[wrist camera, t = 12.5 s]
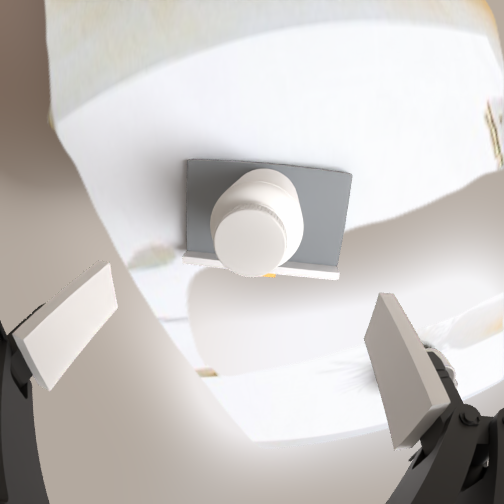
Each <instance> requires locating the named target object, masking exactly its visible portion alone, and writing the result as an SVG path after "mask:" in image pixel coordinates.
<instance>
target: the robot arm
mask: <svg viewBox="0 0 504 504" xmlns="http://www.w3.org/2000/svg"><path fill="white" fill-rule="evenodd" d="M117 308H118V305H117V301H116V296H115V290H114V285H113V279H112V273H111V266H110V262H104V261H97V262H96V263H95V264H93V265H92V266H91V267H89V268H88V269H87V270H86V271H84V272H83V273H82V274H80V275H79V276H78V277H77V278H75V279H74V280H73V281H72V282H71V283H69V284H68V285H67V286H66V287H64V288H63V289H62V290H61V291H60V292H58V293H57V294H56V295H55V296H54V297H52V298H51V299H50V300H49V301H48V302H47V303H45V304H43V305H41V306H39V307H38V308H37V309H36V310H34V311H33V312H32V314H30V315H29V316H28V317H27V319H24V320H23V321H22V322H21V323H20V324H19V325H18V326H17V327H16V328H15V329H14V330H12V331H11V332H10V333H9V334H8V335H6V333H5V331H4V328H3V326H2V324H1V321H0V504H49V500H48V497H47V493H46V489H45V485H44V481H43V476H42V472H41V468H40V462H39V456H38V450H37V443H36V435H35V427H34V416H33V401H32V384H31V381H30V377H32V375H33V377H34V378H35V380H36V381H37V383H38V385H40V386H41V387H43V388H45V389H47V390H49V391H51V389H52V388H53V387H54V385H55V384H56V383H57V382H58V380H59V379H60V378H61V376H62V375H63V374H64V372H65V371H66V370H67V369H68V367H69V366H70V365H71V363H72V362H73V361H74V360H75V358H76V357H77V356H78V355H79V353H80V352H81V351H82V350H83V349H84V347H85V346H86V345H87V344H88V342H89V341H90V340H91V339H92V338H93V336H94V335H95V334H96V333H97V332H98V330H99V329H100V328H101V327H102V326H103V325H104V323H105V322H106V321H107V320H108V319H109V317H110V316H111V315H112V314H113V313H114V312H115V311H116V309H117ZM364 341H365V344H366V347H367V350H368V353H369V357H370V360H371V363H372V366H373V370H374V373H375V376H376V380H377V383H378V387H379V391H380V394H381V398H382V402H383V405H384V409H385V413H386V417H387V421H388V425H389V429H390V433H391V438H392V442H393V446H394V450H401V449H407V448H412V447H413V446H414V445H415V444H416V443H417V442H418V441H419V440H420V441H421V445H422V447H421V448H420V449H419V450H418V451H417V452H416V453H415V454H414V455H413V456H412V457H411V458H410V459H409V461H412V460H413V461H412V463H411V465H410V466H409V468H408V470H407V471H406V473H405V475H404V477H403V478H402V480H401V481H400V483H399V485H398V486H397V488H396V489H395V491H394V492H393V494H392V495H391V497H390V498H389V500H388V501H387V502H386V504H504V408H503V409H501V410H500V411H499V412H498V413H497V414H496V415H495V416H494V417H487V416H481V415H480V413H479V412H478V410H477V409H476V408H474V407H473V406H471V405H468V404H463V402H462V400H461V398H460V395H459V393H458V391H457V389H456V387H455V385H454V383H453V381H452V379H451V378H450V375H449V373H448V371H447V370H446V368H445V366H444V364H443V362H442V360H441V359H440V358H439V357H438V356H437V355H436V354H435V353H434V352H433V351H431V352H426V350H425V348H424V346H423V344H422V342H421V340H420V339H419V337H418V335H417V333H416V331H415V330H414V328H413V326H412V324H411V322H410V321H409V319H408V317H407V315H406V314H405V312H404V310H403V309H402V307H401V305H400V304H399V302H398V300H397V299H396V297H395V295H394V294H391V293H379V296H378V299H377V302H376V305H375V309H374V311H373V314H372V317H371V320H370V323H369V326H368V329H367V332H366V334H365V337H364ZM488 459H489V463H488V466H487V460H488Z"/></svg>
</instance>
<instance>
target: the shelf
mask: <svg viewBox="0 0 504 504" xmlns="http://www.w3.org/2000/svg"><path fill="white" fill-rule="evenodd" d="M256 169H272V170H276V171H278V172H280V173H282V174H283V175H285V176H286V177H287V178H288V179H289V180H290V181H291V182H292V184H293V185H294V187H295V189H296V192H297V195H298V199H299V204H300V208H301V212H302V217H303V236H302V240H301V243H300V245H299V247H298V249H297V250H296V252H295V253H294V254H293V255H292V257H291V258H290V259H288V260H287V261H286V262H285V263H283V264H282V265H280V266H278V267H277V268H276V269H275V270H273V271H272V272H270V273H268V274H266V275H264V276H266V277H275V275H276V274H281V275H290V276H301V277H311V278H321V279H332V280H338V279H339V274H340V272H339V270H338V267H337V264H338V260H339V255H340V249H341V244H342V239H343V233H344V227H345V222H346V215H347V209H348V203H349V196H350V189H351V182H352V174H350V173H345V172H339V171H332V170H324V169H317V168H309V167H300V166H291V165H281V164H271V163H259V162H245V161H228V160H205V159H191V160H188V161H187V251H186V253H185V254H184V255H183V256H182V262H183V264H191V265H199V266H208V267H216V268H225V269H227V268H226V267H225V266H224V265H223V264H222V263H221V262H220V260H219V259H218V257H217V255H216V253H215V250H214V244H213V239H212V236H211V230H210V219H211V214H212V210H213V208H214V206H215V204H216V202H217V200H218V199H219V198H220V196H221V195H222V194H223V193H224V192H225V191H226V190H227V189H228V188H230V187H231V186H232V185H233V184H234V183H235V182H236V181H237V180H238V179H240V178H241V177H242V176H243V175H244V174H246V173H248V172H250V171H252V170H256Z"/></svg>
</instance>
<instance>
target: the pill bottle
mask: <svg viewBox="0 0 504 504" xmlns="http://www.w3.org/2000/svg"><path fill="white" fill-rule="evenodd" d="M210 230H211V236H212V239H213V244H214V250H215V253H216V255H217V257H218V259H219V260H220V262H221V263H222V264H223V265H224V266H225V267H226V268H227V269H228V270H230V271H231V272H233V273H235V274H237V275H240V276H244V277H260V276H264V275H266V274H268V273H270V272H272V271H273V270H275V269H276V268H277V267H278V266H280V265H282V264H283V263H285V262H286V261H287V260H288V259H290V258H291V257H292V255H293V254H294V253H295V252H296V250H297V249H298V247H299V245H300V243H301V240H302V236H303V217H302V212H301V208H300V204H299V199H298V195H297V192H296V189H295V187H294V185H293V184H292V182H291V181H290V180H289V179H288V178H287V177H286V176H285V175H283V174H282V173H280V172H278V171H276V170H272V169H256V170H252V171H250V172H248V173H246V174H244V175H243V176H242V177H241V178H240V179H238V180H237V181H236V182H235V183H234V184H233V185H232V186H231V187H230V188H228V189H227V190H226V191H225V192H224V193H223V194H222V195H221V196H220V198H219V199H218V200H217V202H216V204H215V206H214V208H213V210H212V214H211V219H210Z"/></svg>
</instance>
